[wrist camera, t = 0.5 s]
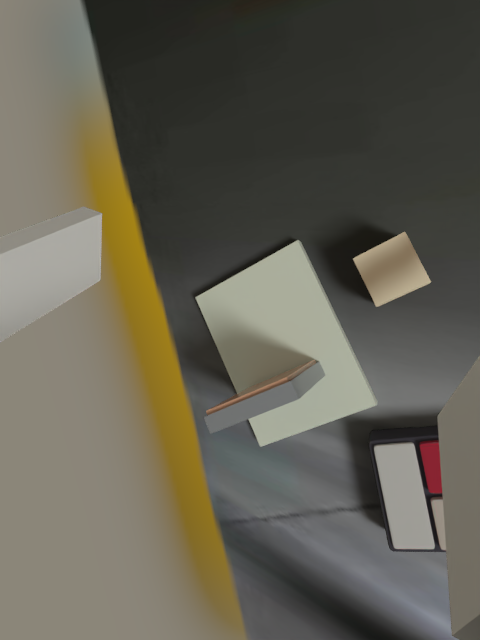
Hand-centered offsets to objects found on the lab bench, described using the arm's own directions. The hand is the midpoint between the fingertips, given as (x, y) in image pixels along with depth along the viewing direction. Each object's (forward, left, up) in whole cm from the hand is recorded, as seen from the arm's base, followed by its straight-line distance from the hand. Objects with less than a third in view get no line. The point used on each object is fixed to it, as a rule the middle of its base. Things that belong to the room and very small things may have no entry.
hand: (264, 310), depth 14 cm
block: (+1, -4, -31) cm, 32 cm away
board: (-1, +10, -31) cm, 33 cm away
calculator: (-20, -1, -32) cm, 37 cm away
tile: (-5, +11, -30) cm, 32 cm away
